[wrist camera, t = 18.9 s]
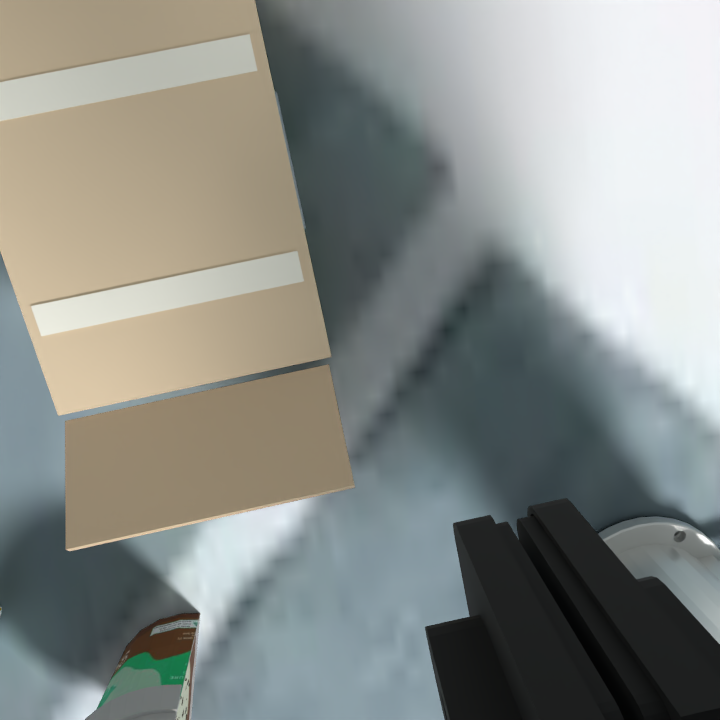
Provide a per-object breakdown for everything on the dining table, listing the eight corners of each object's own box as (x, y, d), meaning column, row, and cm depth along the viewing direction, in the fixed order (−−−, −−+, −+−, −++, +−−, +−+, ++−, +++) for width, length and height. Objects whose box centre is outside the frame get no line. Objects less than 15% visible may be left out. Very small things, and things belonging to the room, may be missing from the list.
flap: (354, 485, 28) (354, 487, 29) (328, 364, 31) (329, 367, 31) (65, 549, 28) (70, 551, 28) (65, 421, 30) (69, 424, 31)
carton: (253, -18, 33) (240, -77, 26) (325, 320, 38) (333, 357, 31) (-3, 31, 33) (-95, -14, 25) (106, 367, 38) (57, 416, 30)
